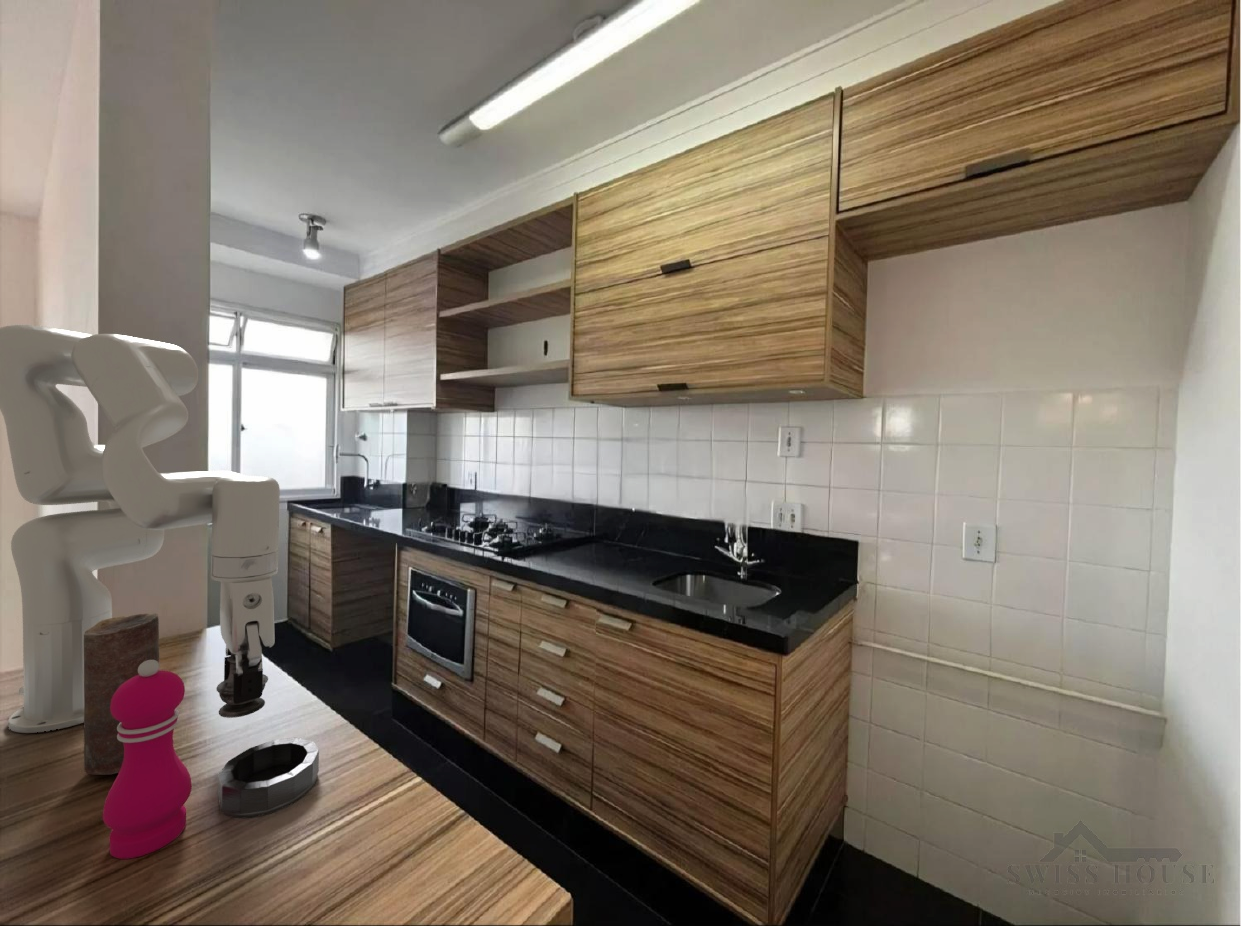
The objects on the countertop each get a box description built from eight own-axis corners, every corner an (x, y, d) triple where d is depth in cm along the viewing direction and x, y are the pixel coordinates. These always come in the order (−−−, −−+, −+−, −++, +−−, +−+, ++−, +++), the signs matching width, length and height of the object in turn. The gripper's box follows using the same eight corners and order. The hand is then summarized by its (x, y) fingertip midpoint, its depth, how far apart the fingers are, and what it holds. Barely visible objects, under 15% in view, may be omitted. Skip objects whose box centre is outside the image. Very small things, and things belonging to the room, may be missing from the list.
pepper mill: (184, 804, 62) (184, 642, 61) (198, 835, 57) (198, 660, 56) (98, 838, 56) (97, 660, 55) (107, 876, 52) (106, 682, 51)
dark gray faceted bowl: (197, 807, 61) (197, 779, 61) (274, 757, 71) (274, 733, 71) (265, 826, 59) (266, 796, 59) (335, 771, 69) (335, 746, 68)
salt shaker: (240, 722, 69) (242, 634, 68) (204, 714, 70) (206, 629, 69) (277, 700, 74) (279, 620, 74) (244, 694, 75) (246, 614, 75)
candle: (135, 782, 65) (134, 628, 64) (66, 788, 64) (64, 631, 63) (173, 746, 73) (173, 608, 72) (112, 751, 71) (111, 610, 70)
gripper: (293, 574, 68) (289, 706, 69) (263, 549, 80) (260, 662, 81) (222, 583, 62) (219, 726, 63) (201, 555, 74) (199, 676, 75)
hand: (242, 689), depth 72 cm, fingers closed on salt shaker, 5 cm apart
